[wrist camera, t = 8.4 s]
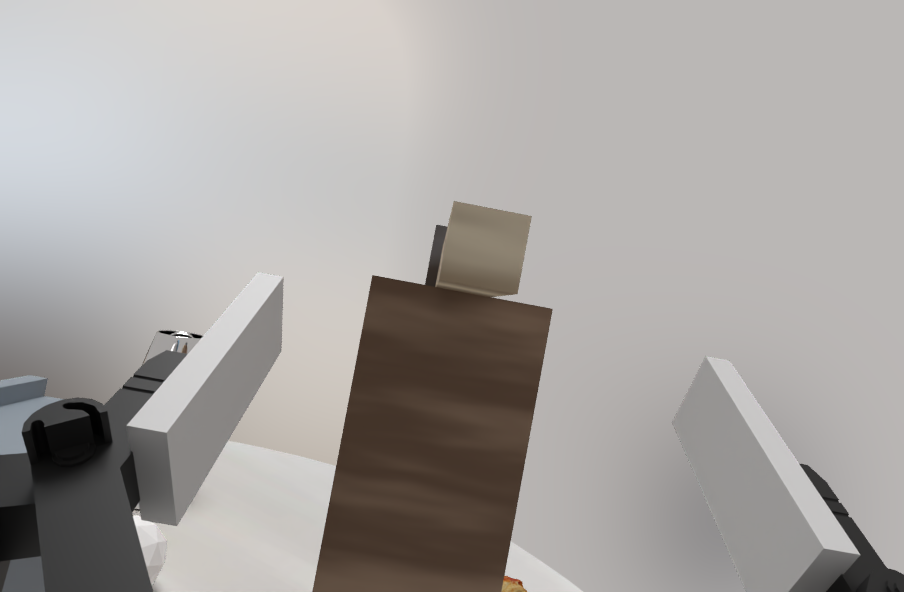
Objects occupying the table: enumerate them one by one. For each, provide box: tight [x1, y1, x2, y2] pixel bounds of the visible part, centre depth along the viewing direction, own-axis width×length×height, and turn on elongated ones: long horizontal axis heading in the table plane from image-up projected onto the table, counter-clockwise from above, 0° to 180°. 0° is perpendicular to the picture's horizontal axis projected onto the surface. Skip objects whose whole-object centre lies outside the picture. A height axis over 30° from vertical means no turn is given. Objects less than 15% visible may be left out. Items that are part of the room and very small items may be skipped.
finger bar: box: [425, 201, 531, 297], centre depth 30 cm, size 20×4×4 cm, turn 3°
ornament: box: [133, 515, 167, 586], centre depth 45 cm, size 6×7×7 cm
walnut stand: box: [313, 276, 552, 592], centre depth 35 cm, size 12×10×30 cm
